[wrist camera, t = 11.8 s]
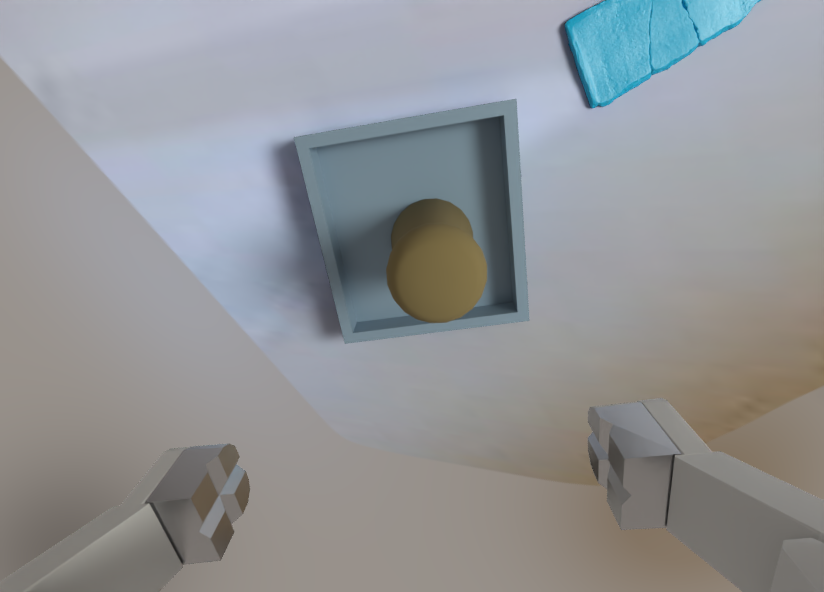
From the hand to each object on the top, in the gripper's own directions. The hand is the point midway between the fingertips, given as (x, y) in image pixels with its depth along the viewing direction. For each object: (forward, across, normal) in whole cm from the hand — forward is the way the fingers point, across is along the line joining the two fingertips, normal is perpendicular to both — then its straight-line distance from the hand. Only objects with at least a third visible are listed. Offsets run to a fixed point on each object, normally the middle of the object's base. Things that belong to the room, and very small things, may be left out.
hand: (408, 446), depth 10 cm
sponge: (+24, -17, -10) cm, 31 cm away
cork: (+22, -1, +1) cm, 22 cm away
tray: (+23, 0, 0) cm, 23 cm away
